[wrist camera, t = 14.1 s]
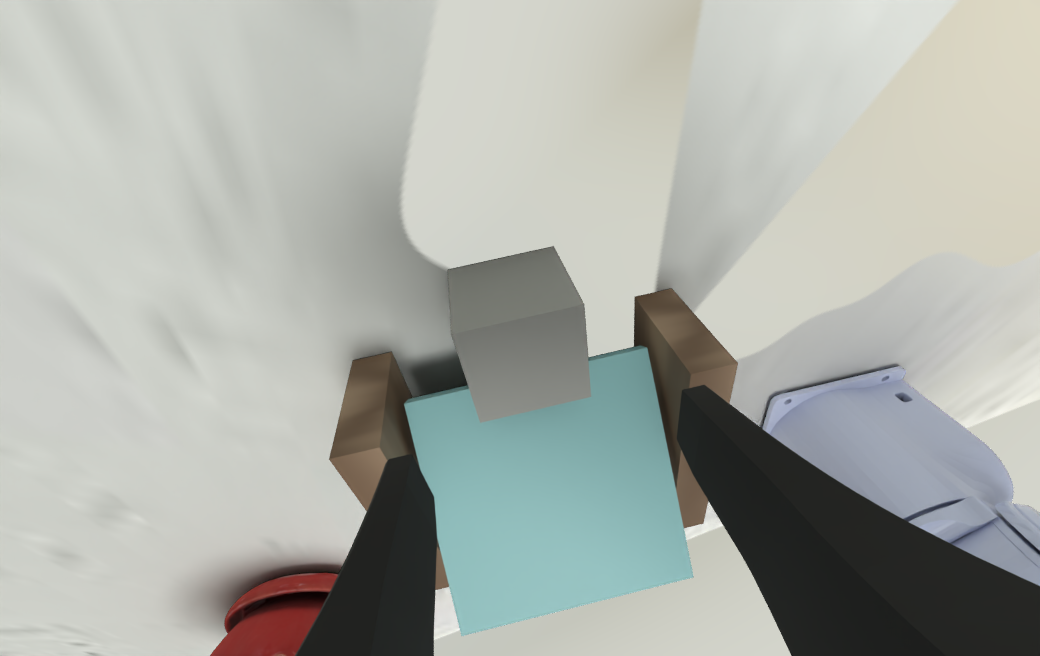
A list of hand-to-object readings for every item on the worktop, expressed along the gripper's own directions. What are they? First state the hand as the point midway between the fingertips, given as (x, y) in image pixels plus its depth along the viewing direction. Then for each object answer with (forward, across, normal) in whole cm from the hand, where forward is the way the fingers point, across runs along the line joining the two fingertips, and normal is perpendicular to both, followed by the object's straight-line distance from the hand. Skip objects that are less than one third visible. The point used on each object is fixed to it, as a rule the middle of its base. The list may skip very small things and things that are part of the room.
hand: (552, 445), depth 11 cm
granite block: (+8, 0, +5) cm, 9 cm away
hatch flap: (+7, 0, +12) cm, 14 cm away
